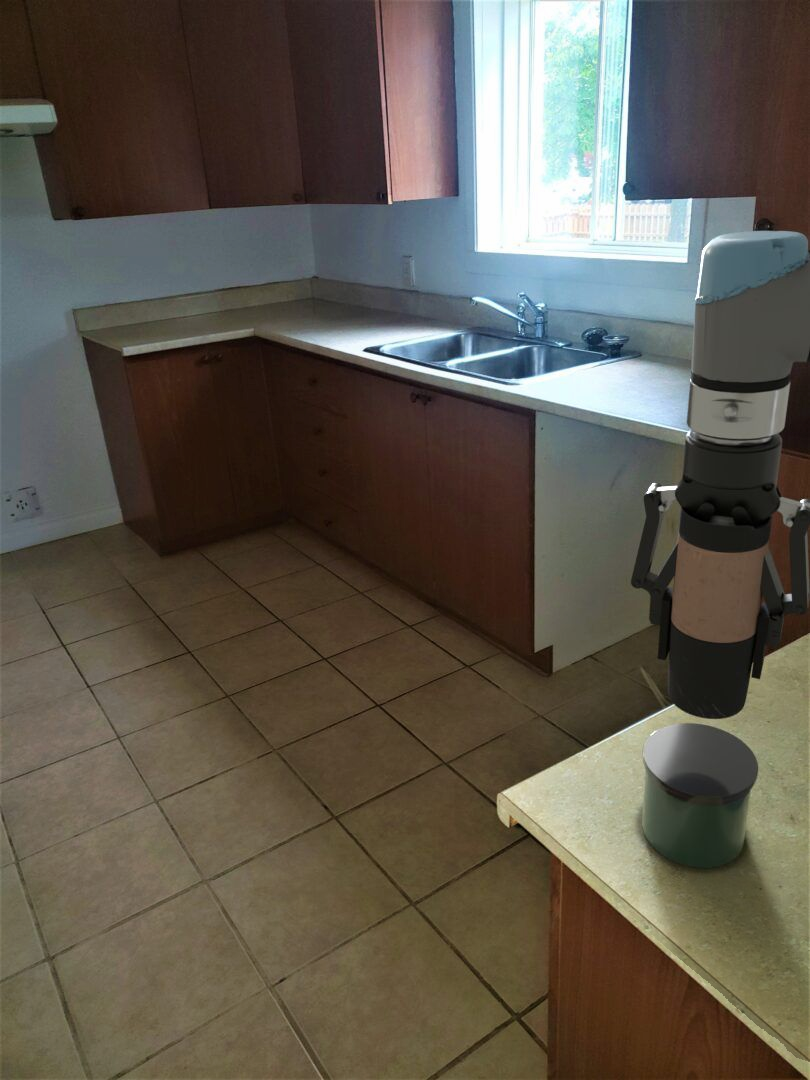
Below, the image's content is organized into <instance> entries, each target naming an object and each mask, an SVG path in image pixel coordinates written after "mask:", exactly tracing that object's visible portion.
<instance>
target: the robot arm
mask: <svg viewBox="0 0 810 1080" xmlns="http://www.w3.org/2000/svg"><path fill="white" fill-rule="evenodd" d="M698 274H699V275H698V281H697V289H696V296H695V301H694V319H693V335H692V351H691V368H690V381H689V392H688V402H687V403H688V404H687V413H686V414H687V416H686V425H687V427H688V429H690V430H688V432H687V433H686V434H685V438H684V439H685V441H684V453H683V463H682V464H683V465H682V476H681V480H680V481H679V482H678V484H677V485H669V486H662V484H661V483H659V482H658V483H657V482H653V483H652V484H650V485H649V487H648V488H647V490H646V492H645V494H644V495H643V506H644V512H645V520H644V524H643V528H642V533H641V537H640V541H639V545H638V549H637V554H636V558H635V563H634V567H633V571H632V575H631V579H630V585H631V586H632V587H633V588H635V589H636V590H637V589H641V590H642V589H643V590H645V591H646V592H647V593H648V594H649V598H650V600H649V614H648V619H649V623H650V624H651V625H655V626H659V635H658V648H657V659H658V660H661V661H666V660H667V658H668V657H669V648H670V623H671V608H672V597H673V587H672V586H671V587H670V586H669V585H671V582H672V581H673V580H674V576H675V572H676V561H677V550H678V543H677V542H676V543H675V545H674V547H673V548H672V550H671V551H670V554H669V555H668V557H667V558H666V559H665V561H664V563H663V565H662V567H661V568H660V570H659V572H658V574H656V573H655V572H652V571H651V569H652V564H653V561H654V557H655V552H656V549H657V545H658V541H659V536H660V533H661V529H662V525H663V520H664V517H665V512H668V511H669V510H670V508H671V507H672V504H673V502H674V501H677V503H678V504H679V506H680V508H681V507H682V508H683V510H684V511H685V513H686V514H688V515H689V516H691V517H693V518H695V519H697V520H700V521H703V522H706V523H708V521H709V520H710V518H711V516H724V517H731V518H733V520H734V523H735V525H736V526H752V527H753V528H754V526H760V525H762V524H763V523H764V522H765V521H766V520H767V519H768V518H770V517H771V516H772V517H773V515H774V514H775V513H776V512H778V513H780V514H781V515H782V523H783V525H784V526H786V527H788V528H790V530H789V537H788V547H789V566H790V567H789V569H790V590H791V593H785V590H784V588H783V585H782V582H781V579H780V576H779V574H778V573H779V572H778V570H777V568H776V565H775V561H774V558H773V555H772V553H771V551H770V547H769V546H768V554H767V556H765V555H764V559H763V567H762V576H761V584H760V589H761V592H762V594H763V596H762V598H763V600H764V601H762V604H761V611H760V615H759V622H758V629H757V637H756V645H755V652H754V657H753V663H752V669H751V675H750V679H751V678H752V679H756V680H761V676H762V672H763V668H764V663H765V655H766V649H767V646H770V647H771V646H773V647H778V645H779V644H780V642H781V637H782V634H783V633H782V632H783V625H784V620H785V619H784V618H785V617H786V616H787V615H791V614H792V615H793V614H795V615H797V616H804V615H805V614H807V613H808V610H809V603H810V568H809V567H810V566H809V565H810V563H809V543H808V542H809V540H808V539H809V538H808V530H809V527H810V499H809V498H804V499H801V500H800V501H799V500H795V499H791V498H787V497H784V496H782V494H781V491H780V489H779V486H778V478H779V471H780V462H781V455H782V454H781V453H782V447H783V438H782V436H781V435H780V433H782V431H783V430H785V429H784V428H785V427H786V426H785V425H786V419H787V418H786V417H787V410H788V405H789V404H788V402H789V396H790V389H791V377H792V368H793V364H794V363H796V362H797V363H810V252H809V240H808V238H807V235H805V234H803V233H801V232H797V231H790V230H749V231H740V232H731V233H725V234H721V235H718V236H715V237H713V238H712V239H711V240H710V241H708V243H707V244H706V245H705V246H704V247H703V250H702V251H701V258H700V264H699V272H698Z"/></svg>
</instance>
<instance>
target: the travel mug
mask: <svg viewBox="0 0 810 1080" xmlns="http://www.w3.org/2000/svg"><path fill="white" fill-rule="evenodd" d="M772 522H773V515H772V516H771V517H770V518H768V519H767V520H766V521H765V522H764V523H763V524H762V525H760V526H754V528H753V527H752V526H736V525H735V523H734V520H733V518H731V517H724V516H711V518H710V520H709V521H708V523H706V522H703V521H700V520H697V519H695V518H693V517H691V516H689V515H688V514H686V513H685V511H684V510H683V508H682V507H681V506H680V510H679V520H678V531H677V541H676V543H678V550H677V561H676V572H675V576H674V577H673V587H672V588H673V597H672V608H671V623H670V648H669V653H668V672H667V673H668V675H667V693H668V697H669V700H670V701H671V702H672V704H673V705H674V706H675V707H676V708H678V709H679V710H680V711H682V712H684V713H685V714H688V715H691V716H693V717H695V718H696V717H697V718H701V719H707V720H724V719H727V718H731V717H734V716H736V715H737V714H739V713H740V712H742V711H743V709H744V707H745V706H746V705H745V704H746V701H747V697H748V692H749V686H750V680H751V675H752V667H753V660H754V652H755V645H756V637H757V629H758V622H759V615H760V611H761V607H762V603H763V594H762V592H761V589H760V584H761V576H762V567H763V559H764V555H765V556H767V554H768V547H769V545H770V538H771V537H770V536H771V529H772Z"/></svg>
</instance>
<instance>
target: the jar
mask: <svg viewBox="0 0 810 1080" xmlns="http://www.w3.org/2000/svg"><path fill="white" fill-rule="evenodd" d="M641 755H642V757H641V758H642V763H643V766H644V771H645V772H644V787H643V789H644V790H643V801H642V802H643V804H642V819H641V827H642V831H643V834H644V836H645V838H646V840H647V841H648V843H649V844H650V845H651V846H652V848H654V850H655V851H657V852H658V853H659V854H660V855H662V856H663V857H665V858H666V859H669V860H670V861H673V862H674V863H677V864H679V865H683V866H687V867H690V868H691V867H692V868H698V869H699V868H700V869H711V868H718V867H721V866H724V865H727V864H729V863H731V862H732V861H734V860H735V859H736V858H737V857H738V856H739V854H740V853H741V852H742V850H743V848H744V844H745V836H746V829H747V822H748V815H749V809H750V800H751V793H752V790H753V787H754V786H755V784H756V782H757V780H758V776H759V762H758V760H757V757H756V754H754V752H753V750H752V749H751V748H750V747H749V746H748V745H747V744H746V742H744V741H743V740H741V738H739V737H737V736H736V735H734V734H732V733H730V732H728V731H726V730H724V729H721V728H719V727H716V726H712V725H708V724H702V723H694V722H690V723H689V722H683V723H681V722H680V723H674V724H670V725H666V726H663V727H661V728H659V729H657V730H655V731H654V732H652V733H651V734H650V735H649V736H648V737H647V739H646V740H645V742H644V744H643V747H642V754H641Z"/></svg>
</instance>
